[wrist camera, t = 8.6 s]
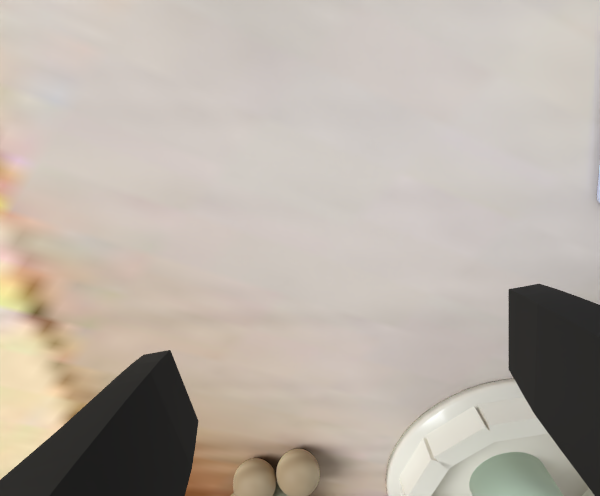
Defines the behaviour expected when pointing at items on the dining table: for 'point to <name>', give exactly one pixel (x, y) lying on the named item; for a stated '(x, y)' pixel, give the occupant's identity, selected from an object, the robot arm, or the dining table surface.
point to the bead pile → (278, 476)
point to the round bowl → (474, 443)
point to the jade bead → (513, 477)
